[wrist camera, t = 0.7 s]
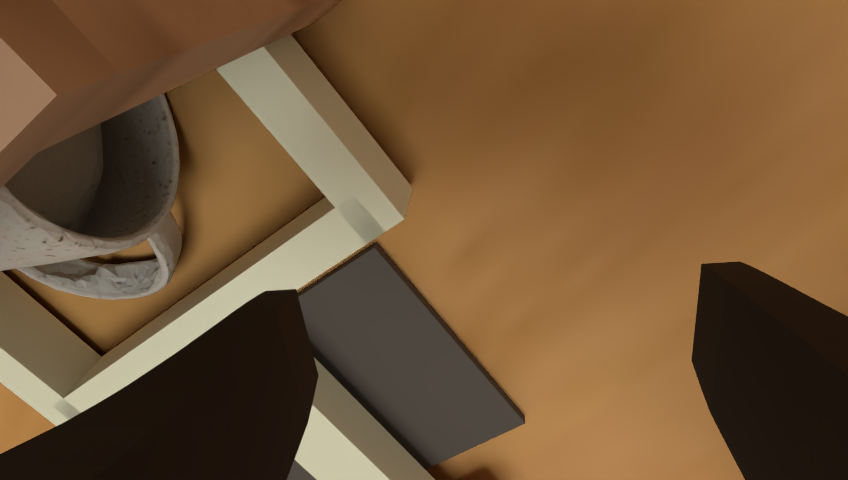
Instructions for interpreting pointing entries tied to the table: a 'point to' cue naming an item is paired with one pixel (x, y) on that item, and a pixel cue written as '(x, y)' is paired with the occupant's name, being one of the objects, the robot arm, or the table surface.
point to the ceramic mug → (97, 207)
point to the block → (246, 275)
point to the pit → (401, 361)
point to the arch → (117, 58)
